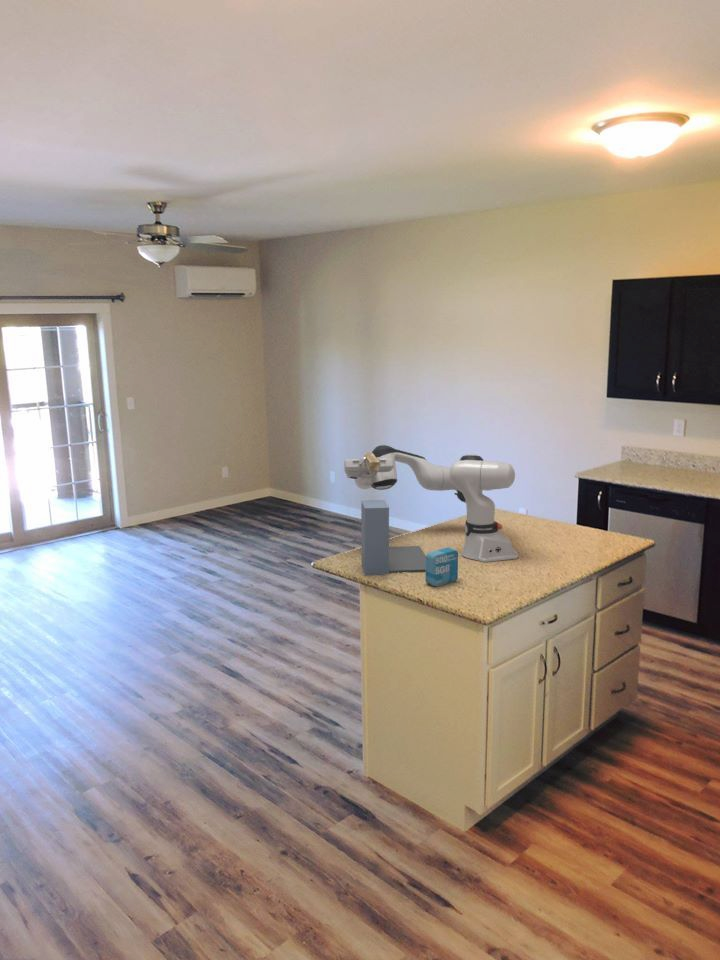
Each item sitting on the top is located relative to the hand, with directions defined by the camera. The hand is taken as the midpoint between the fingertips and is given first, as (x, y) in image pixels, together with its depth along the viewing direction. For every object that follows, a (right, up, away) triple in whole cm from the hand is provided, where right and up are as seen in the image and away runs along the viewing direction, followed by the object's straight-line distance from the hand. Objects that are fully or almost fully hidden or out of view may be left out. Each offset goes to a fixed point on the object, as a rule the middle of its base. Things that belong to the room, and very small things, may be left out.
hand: (370, 459), depth 299 cm
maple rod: (0, -3, -3) cm, 4 cm away
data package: (+26, -46, -25) cm, 58 cm away
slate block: (+2, -43, -12) cm, 44 cm away
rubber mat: (+14, -40, 0) cm, 43 cm away
